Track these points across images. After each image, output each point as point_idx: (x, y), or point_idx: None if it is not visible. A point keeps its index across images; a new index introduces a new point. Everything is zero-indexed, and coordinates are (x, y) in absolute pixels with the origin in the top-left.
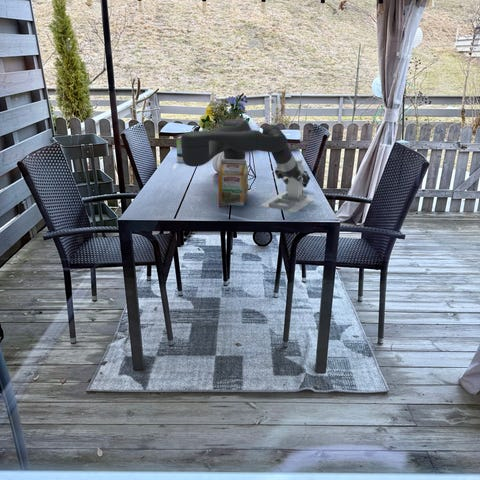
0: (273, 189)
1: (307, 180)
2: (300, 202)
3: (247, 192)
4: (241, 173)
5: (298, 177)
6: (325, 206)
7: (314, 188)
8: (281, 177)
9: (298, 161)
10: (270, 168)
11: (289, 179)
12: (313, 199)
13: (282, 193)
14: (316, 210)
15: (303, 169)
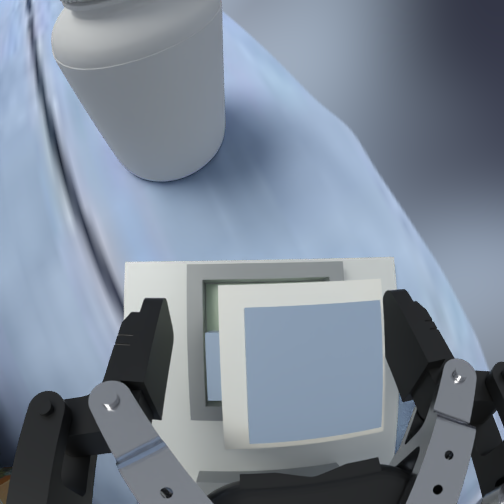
0: (50, 188)
1: (499, 438)
2: None
3: (9, 481)
4: None
5: (373, 405)
6: (461, 313)
7: (258, 51)
8: (109, 450)
9: None
10: (24, 5)
11: (235, 444)
12: (393, 283)
13: (135, 282)
14: None
15: (220, 6)
